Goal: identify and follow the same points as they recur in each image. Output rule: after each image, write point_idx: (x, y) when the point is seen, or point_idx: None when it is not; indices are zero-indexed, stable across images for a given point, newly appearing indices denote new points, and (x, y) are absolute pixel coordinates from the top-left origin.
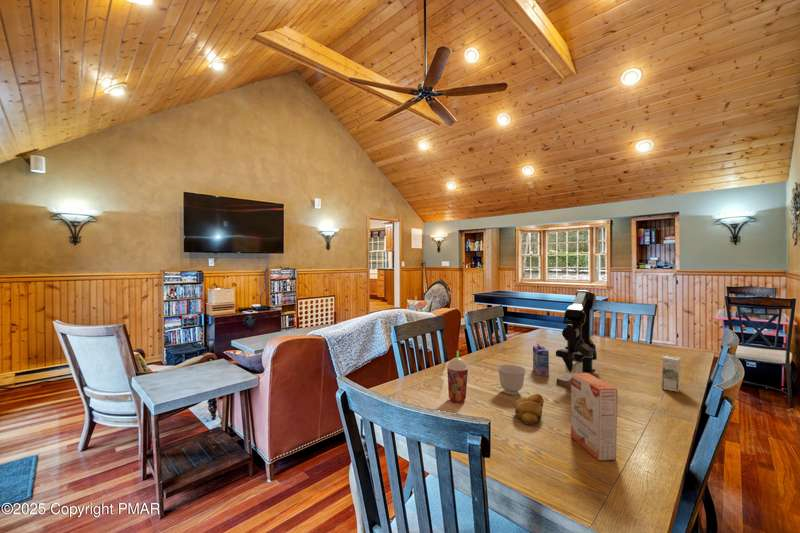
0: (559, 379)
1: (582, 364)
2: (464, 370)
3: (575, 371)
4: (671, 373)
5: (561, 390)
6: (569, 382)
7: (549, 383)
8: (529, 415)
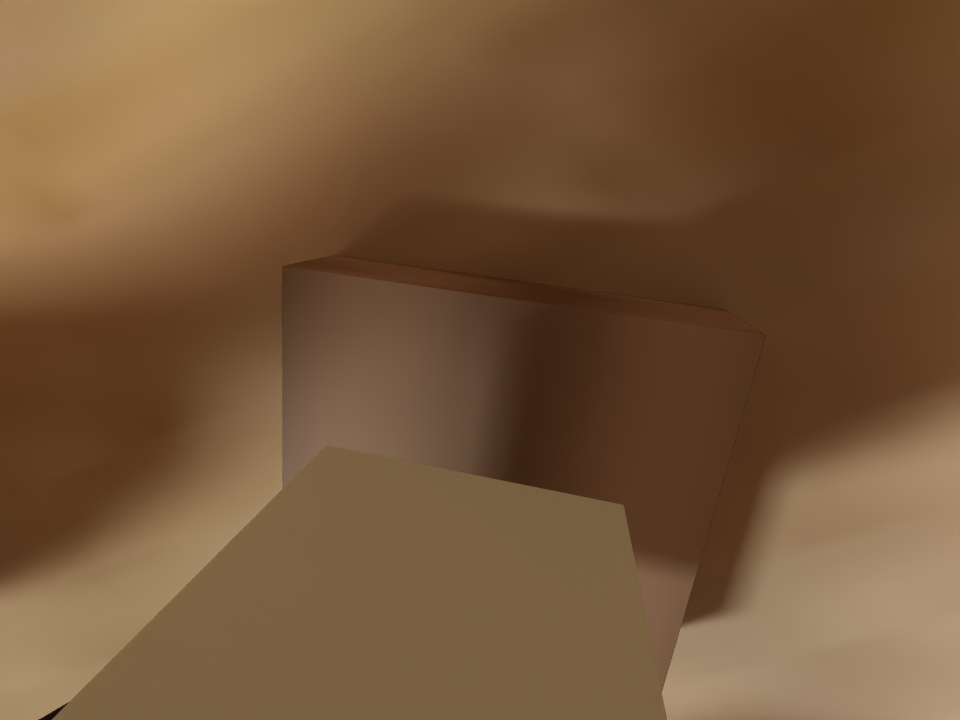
0: (664, 668)
1: (140, 638)
2: None
3: (639, 588)
4: None
5: (917, 492)
6: (714, 501)
7: (709, 704)
8: None
